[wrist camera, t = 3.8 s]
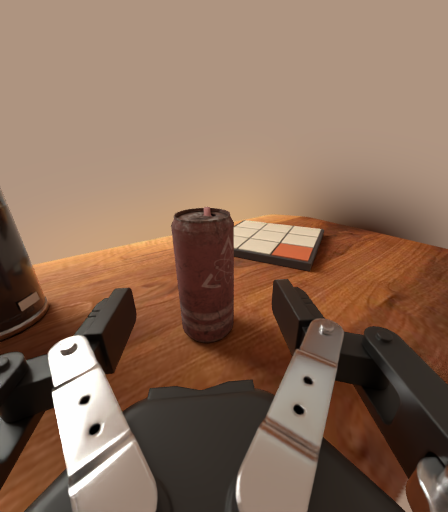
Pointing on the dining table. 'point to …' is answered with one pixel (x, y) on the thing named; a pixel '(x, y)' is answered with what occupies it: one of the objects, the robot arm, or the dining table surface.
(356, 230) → the dining table surface
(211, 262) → the can
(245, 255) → the board
